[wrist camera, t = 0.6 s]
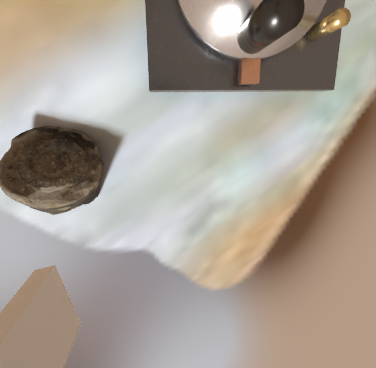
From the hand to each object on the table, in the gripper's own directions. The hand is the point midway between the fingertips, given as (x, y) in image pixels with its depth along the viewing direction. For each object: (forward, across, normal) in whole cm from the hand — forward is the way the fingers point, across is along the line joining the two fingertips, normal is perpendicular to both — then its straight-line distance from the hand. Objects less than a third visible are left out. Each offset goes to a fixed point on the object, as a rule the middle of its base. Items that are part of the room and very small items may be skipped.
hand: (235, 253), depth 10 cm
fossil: (+26, -15, +2) cm, 30 cm away
